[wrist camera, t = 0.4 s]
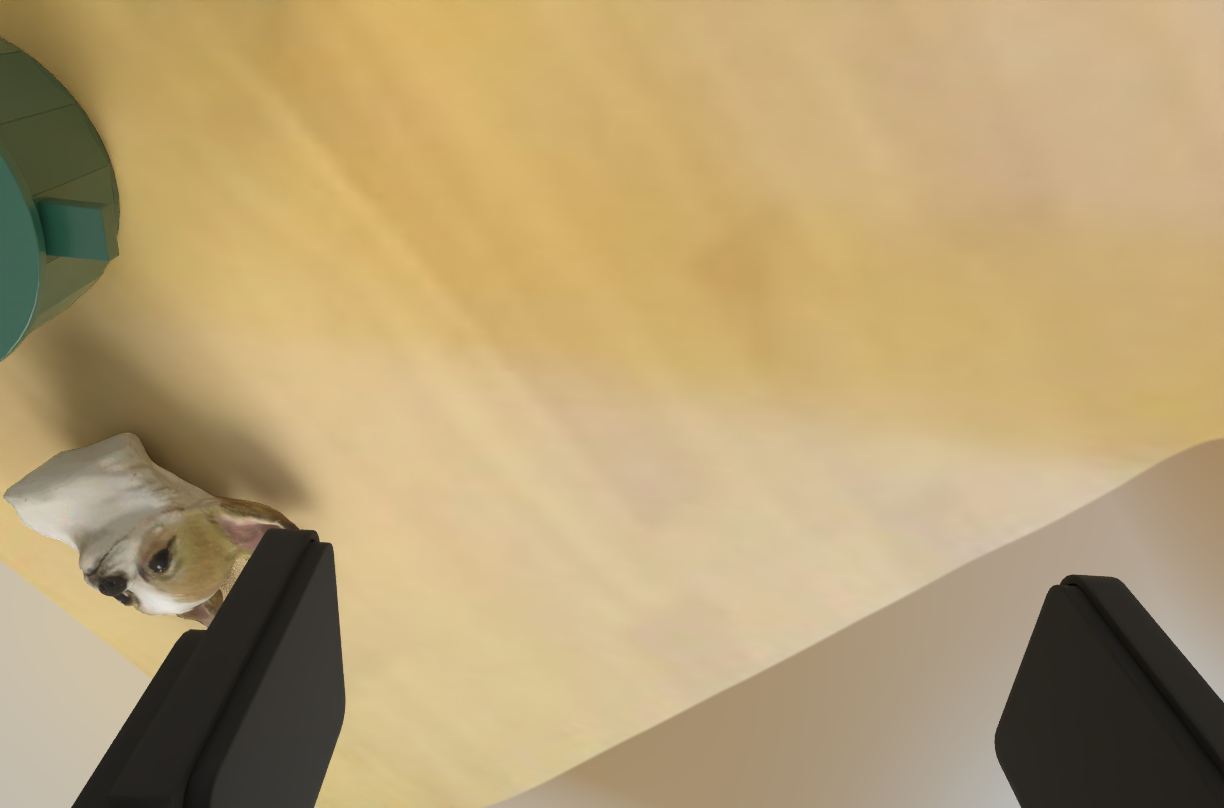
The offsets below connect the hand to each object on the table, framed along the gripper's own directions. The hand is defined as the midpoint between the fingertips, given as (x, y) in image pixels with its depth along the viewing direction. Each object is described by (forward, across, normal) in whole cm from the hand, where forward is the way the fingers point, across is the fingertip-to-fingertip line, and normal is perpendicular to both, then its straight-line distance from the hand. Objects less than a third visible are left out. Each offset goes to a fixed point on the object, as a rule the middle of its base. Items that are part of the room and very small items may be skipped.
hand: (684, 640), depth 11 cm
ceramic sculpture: (+36, +25, +23) cm, 50 cm away
